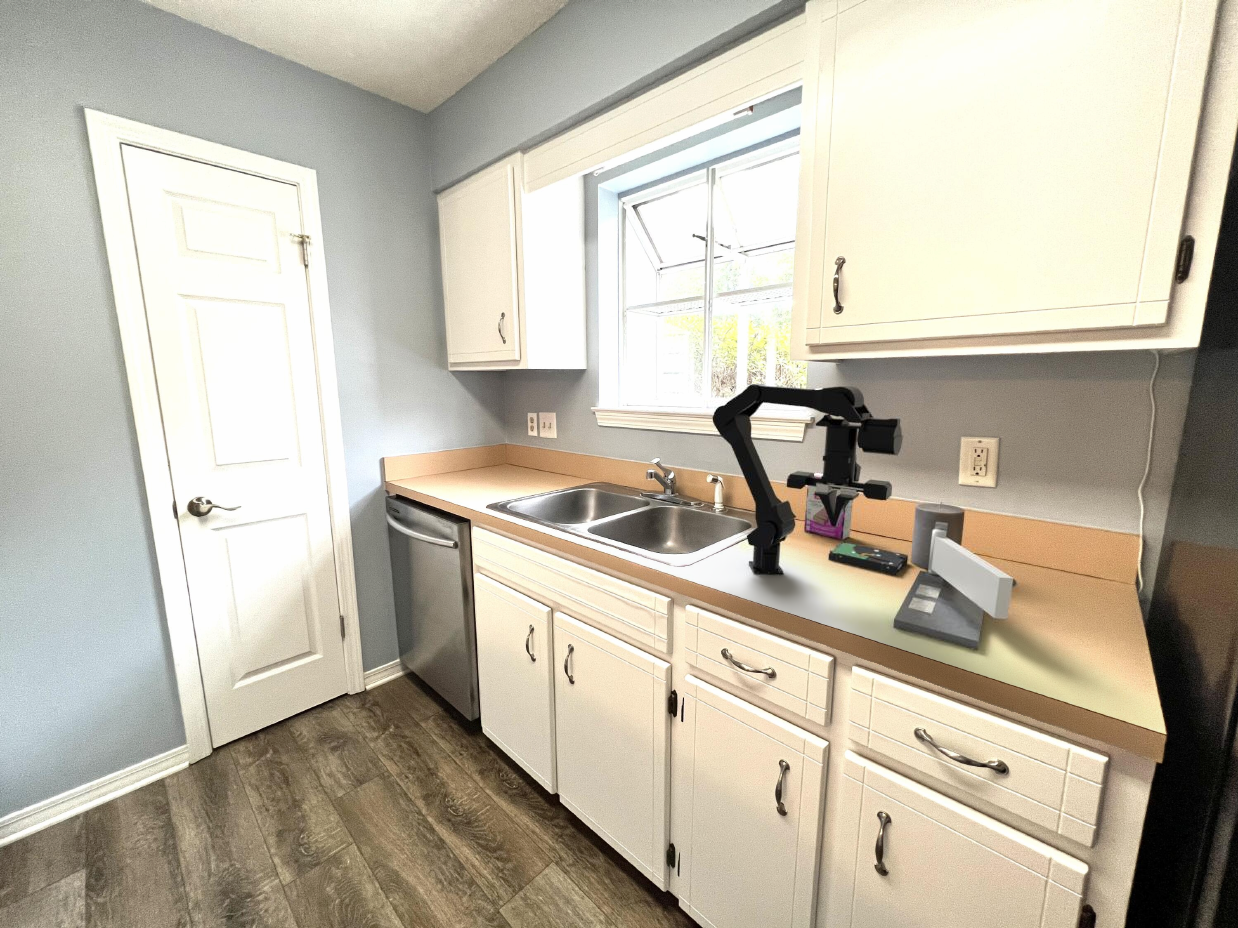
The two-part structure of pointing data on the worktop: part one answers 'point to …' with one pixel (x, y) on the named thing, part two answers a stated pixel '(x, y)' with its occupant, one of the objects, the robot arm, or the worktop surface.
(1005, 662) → the worktop surface
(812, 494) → the candy bar box
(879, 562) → the disk drive
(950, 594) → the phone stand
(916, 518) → the pillar candle
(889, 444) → the robot arm
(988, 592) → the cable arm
